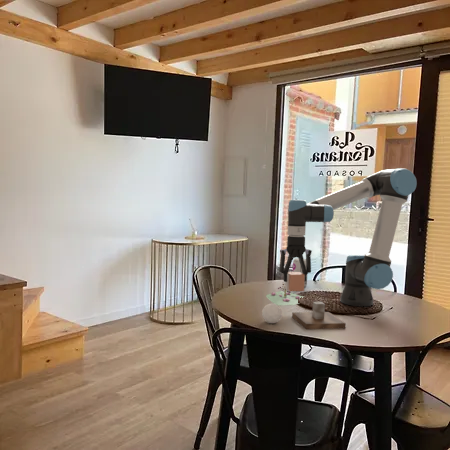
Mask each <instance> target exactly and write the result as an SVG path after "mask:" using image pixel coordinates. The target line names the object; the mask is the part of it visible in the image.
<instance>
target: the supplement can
mask: <svg viewBox="0 0 450 450" xmlns="http://www.w3.org/2000/svg"><path fill="white" fill-rule="evenodd" d="M303 260H304V263H305V267H306V258H303ZM292 272H301V273H303V272H302V269H301V265H300V261H299V259H298V257H295V258H293V260H292ZM307 286H308V279H307V280H306V281H304V288H306V287H307Z"/></svg>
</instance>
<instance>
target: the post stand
mask: <svg viewBox="0 0 450 450" xmlns="http://www.w3.org/2000/svg"><path fill="white" fill-rule="evenodd" d="M325 306H326V304H325V303H324V302H323V301H312V311H309V312H307V311H302V312H301V311H299V312H298V311H296V312H292V311H291V312H292V313H291V315H292V316H291V318H292V319H294V320H295V321H296V322H297V323H299V324H300V325H301V327H303V328H304V329H306V330H326V329H329V330H331V329H346V327H347V326H346V325H347V324H346V322H344V320H341V319H340V318H338V317H337V316H336V315H334V314H333V313H331V312H329V311H325V310H326V309H325V308H326V307H325Z"/></svg>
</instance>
